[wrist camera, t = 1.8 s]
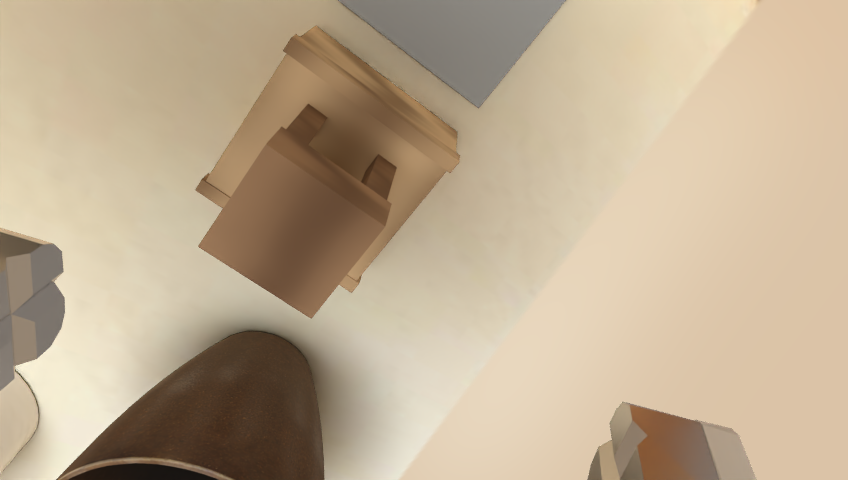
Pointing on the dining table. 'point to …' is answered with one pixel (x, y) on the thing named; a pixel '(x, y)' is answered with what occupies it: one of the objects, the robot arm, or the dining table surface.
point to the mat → (460, 36)
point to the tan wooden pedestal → (343, 130)
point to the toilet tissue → (16, 419)
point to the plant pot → (217, 420)
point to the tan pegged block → (300, 217)
